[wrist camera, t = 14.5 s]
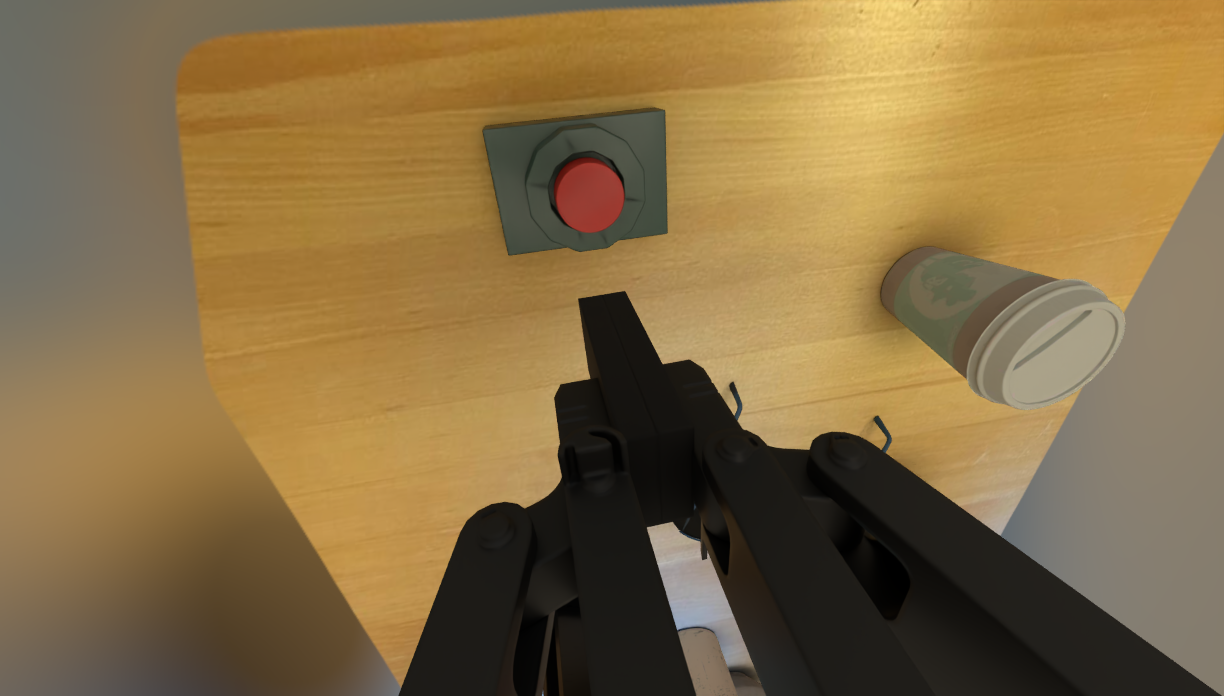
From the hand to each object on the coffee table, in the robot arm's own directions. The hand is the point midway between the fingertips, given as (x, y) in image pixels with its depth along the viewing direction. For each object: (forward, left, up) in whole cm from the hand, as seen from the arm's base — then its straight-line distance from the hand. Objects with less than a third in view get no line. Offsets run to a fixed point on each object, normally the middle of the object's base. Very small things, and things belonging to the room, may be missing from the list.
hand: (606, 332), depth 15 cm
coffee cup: (+28, +5, -17) cm, 34 cm away
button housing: (0, +2, -17) cm, 17 cm away
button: (0, +2, -13) cm, 13 cm away
